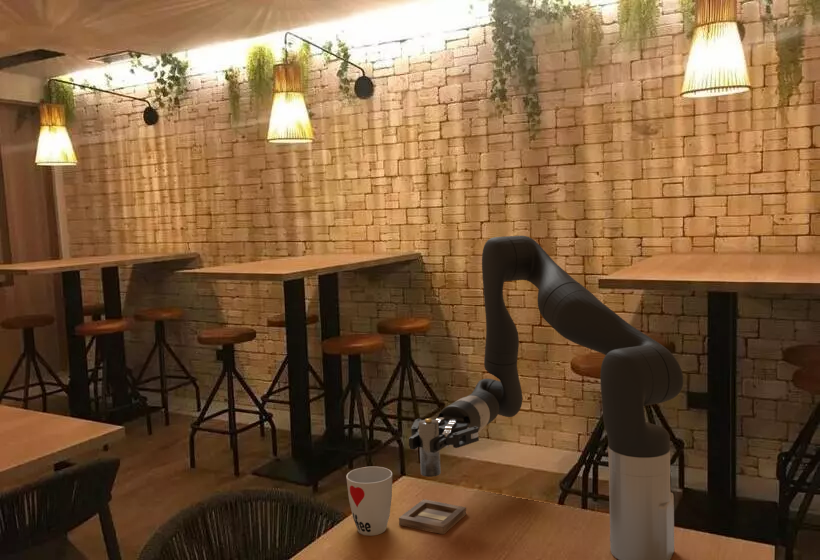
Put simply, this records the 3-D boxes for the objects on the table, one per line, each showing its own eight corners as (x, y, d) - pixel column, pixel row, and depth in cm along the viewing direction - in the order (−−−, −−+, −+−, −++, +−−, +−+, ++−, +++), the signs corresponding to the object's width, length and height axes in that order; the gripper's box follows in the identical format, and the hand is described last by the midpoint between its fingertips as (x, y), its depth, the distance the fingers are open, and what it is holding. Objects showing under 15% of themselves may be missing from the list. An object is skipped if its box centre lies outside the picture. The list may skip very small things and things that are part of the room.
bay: (466, 514, 127) (466, 507, 127) (443, 534, 119) (443, 527, 119) (423, 505, 132) (423, 499, 132) (399, 524, 124) (398, 517, 124)
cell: (444, 470, 126) (441, 417, 125) (434, 477, 123) (432, 423, 122) (426, 467, 127) (424, 415, 126) (417, 474, 124) (414, 420, 123)
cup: (343, 525, 125) (340, 471, 124) (384, 515, 128) (381, 463, 127) (358, 543, 117) (355, 486, 117) (402, 532, 121) (399, 477, 120)
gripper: (432, 396, 140) (386, 420, 125) (496, 403, 133) (456, 430, 118) (433, 432, 141) (388, 460, 126) (498, 441, 133) (458, 472, 119)
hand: (421, 445), depth 122 cm, fingers closed on cell, 3 cm apart
